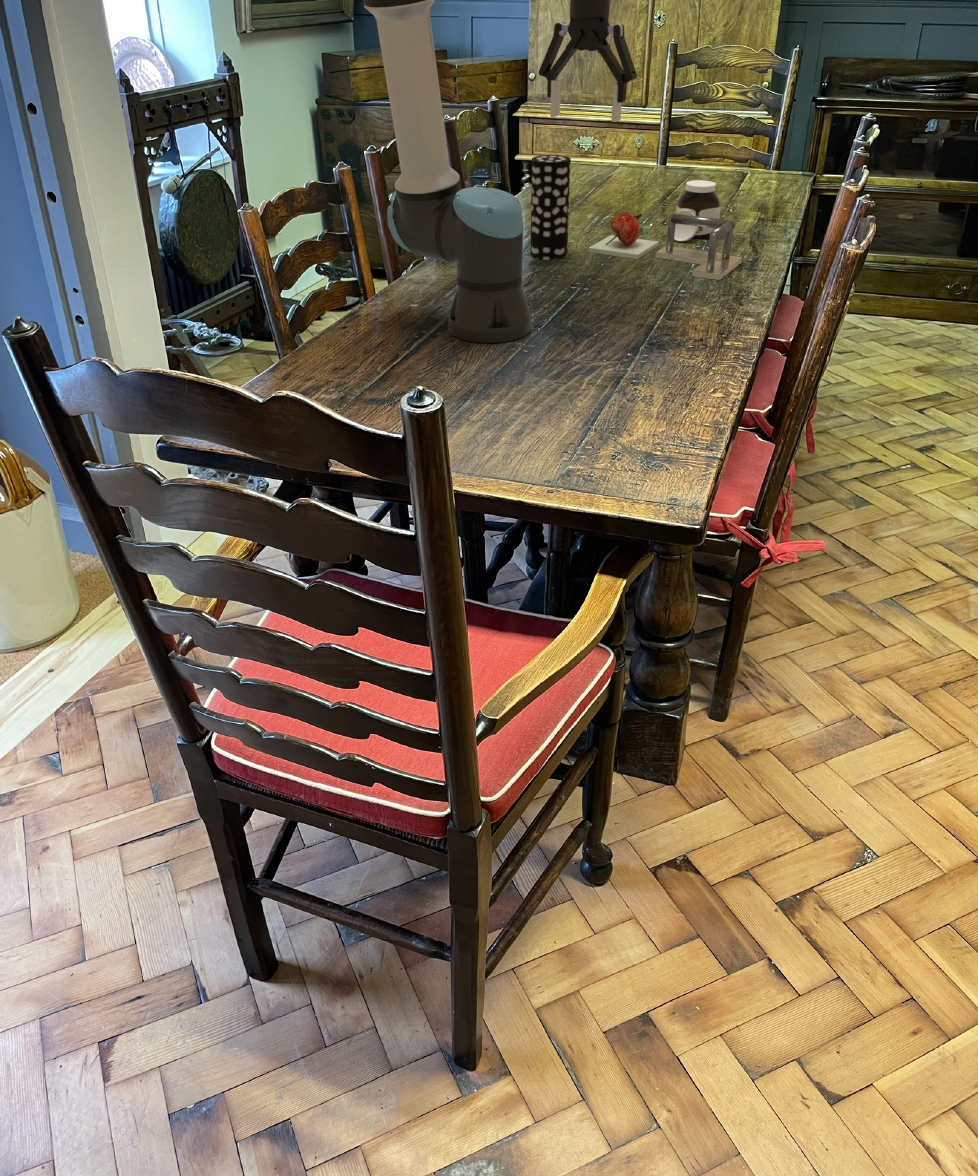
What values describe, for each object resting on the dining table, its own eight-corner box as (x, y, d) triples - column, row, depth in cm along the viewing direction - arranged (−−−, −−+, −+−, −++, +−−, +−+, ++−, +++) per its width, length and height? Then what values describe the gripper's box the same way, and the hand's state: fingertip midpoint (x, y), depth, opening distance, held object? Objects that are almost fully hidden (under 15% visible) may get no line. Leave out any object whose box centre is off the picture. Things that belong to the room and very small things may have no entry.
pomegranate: (615, 260, 210) (652, 231, 207) (596, 232, 208) (634, 203, 204) (613, 254, 217) (649, 226, 213) (595, 228, 214) (631, 199, 211)
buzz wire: (719, 280, 193) (725, 235, 188) (639, 268, 201) (642, 224, 196) (742, 262, 204) (748, 218, 198) (665, 251, 211) (669, 209, 206)
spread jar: (715, 231, 225) (721, 180, 218) (720, 244, 216) (726, 190, 209) (664, 231, 226) (669, 179, 219) (667, 243, 217) (672, 190, 210)
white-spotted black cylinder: (564, 260, 206) (568, 163, 195) (527, 259, 207) (528, 162, 196) (569, 250, 213) (573, 155, 201) (533, 249, 214) (535, 154, 203)
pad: (637, 259, 206) (637, 254, 206) (588, 252, 211) (588, 247, 211) (658, 246, 215) (658, 241, 214) (610, 239, 220) (610, 235, 219)
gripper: (659, -7, 173) (649, 120, 185) (541, -9, 183) (539, 111, 196) (643, -5, 168) (634, 125, 180) (522, -7, 178) (521, 116, 190)
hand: (585, 118), depth 188 cm, fingers open, 13 cm apart
